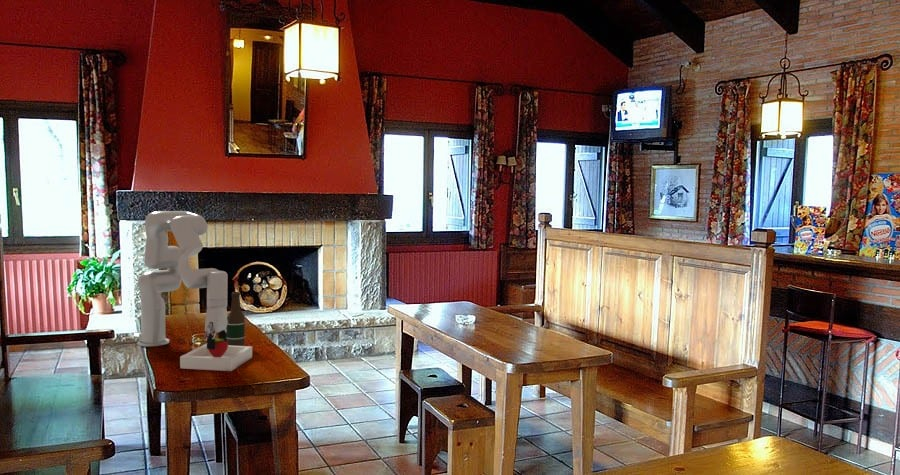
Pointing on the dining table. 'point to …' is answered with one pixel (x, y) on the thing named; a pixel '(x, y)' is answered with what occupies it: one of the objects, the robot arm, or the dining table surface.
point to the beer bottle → (236, 323)
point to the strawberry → (219, 348)
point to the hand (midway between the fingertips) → (216, 345)
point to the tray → (216, 358)
